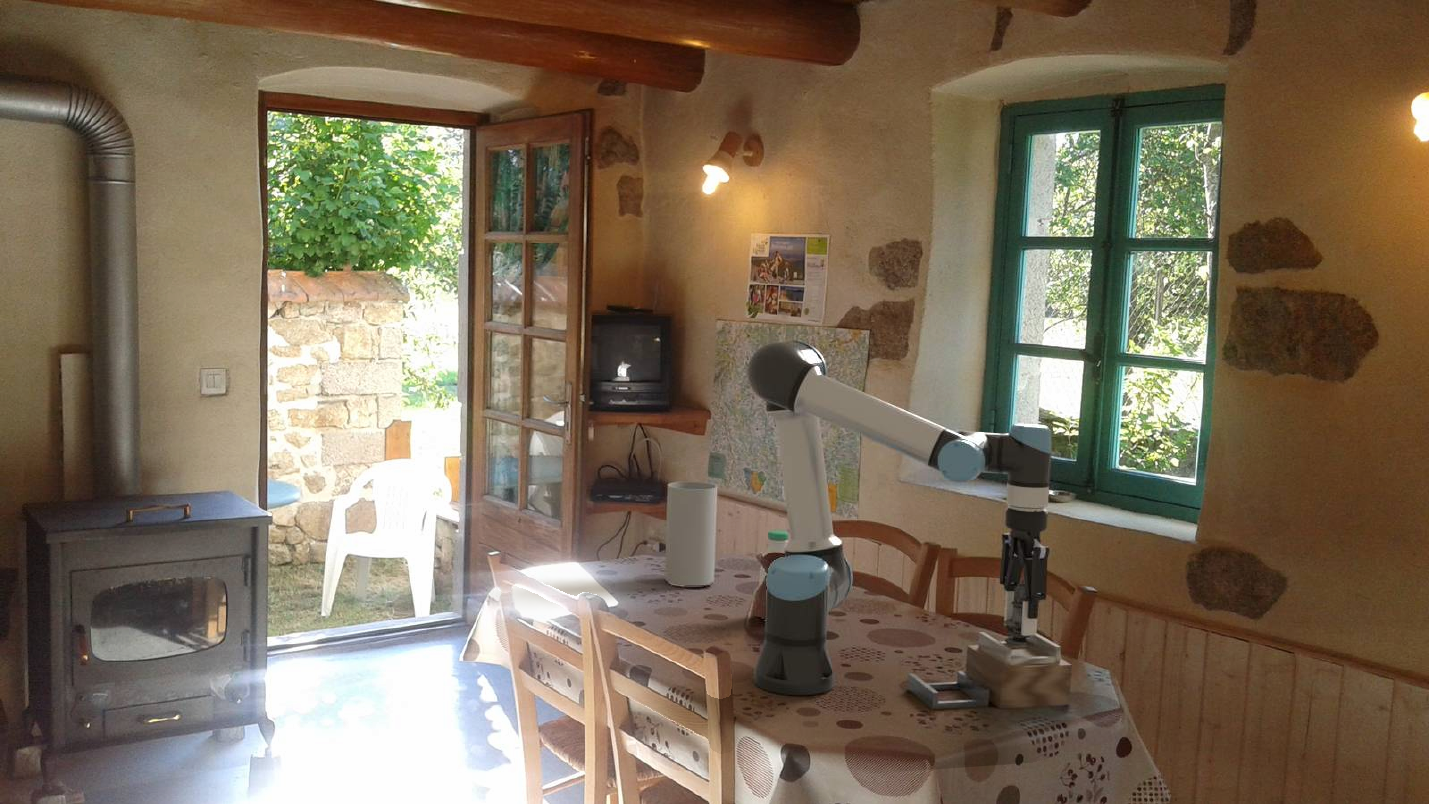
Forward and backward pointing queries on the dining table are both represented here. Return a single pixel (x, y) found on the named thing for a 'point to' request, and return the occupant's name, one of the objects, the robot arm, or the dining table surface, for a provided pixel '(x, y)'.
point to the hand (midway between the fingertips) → (1020, 629)
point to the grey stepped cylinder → (1017, 619)
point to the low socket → (963, 683)
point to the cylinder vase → (690, 533)
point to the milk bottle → (774, 547)
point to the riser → (1020, 672)
